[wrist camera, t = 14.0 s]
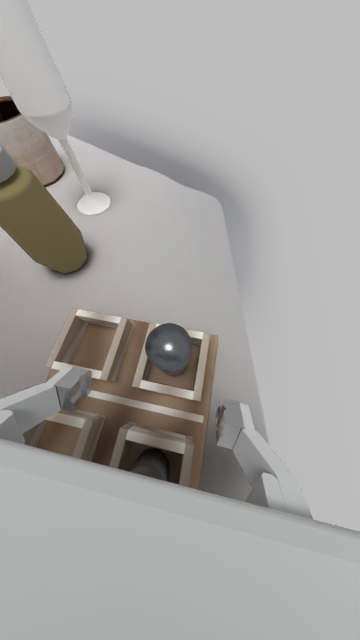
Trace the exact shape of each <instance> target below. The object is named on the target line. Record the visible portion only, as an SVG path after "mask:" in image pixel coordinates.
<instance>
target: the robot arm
mask: <svg viewBox="0 0 360 640" xmlns="http://www.w3.org/2000/svg"><path fill="white" fill-rule="evenodd" d="M91 376H92V371H90V370H86V369H82V368H78V367H73V366H69V365H68V366H65V367H64V368H63V369H61V370H60V371H59V372H58V373H57V374H56V375H54V376H53V377H52V378H51V379H50V380H48V381H47V382H46V383H45V384H44V383H41V384H39V385H36V386H34V387H31V388H28V389H26V390H23V391H20V392H18V393H15V394H13V395H10V396H7V397H5V398H2V399H0V640H360V532H359V531H355V530H351V529H347V528H343V527H340V526H336V525H332V524H328V523H324V522H320V521H317V520H313V518H312V515H311V513H310V510H309V508H308V505H307V502H306V500H305V497H304V495H303V492H302V489H301V487H300V485H299V482H298V480H297V478H296V477H295V476H294V475H293V474H292V472H291V471H290V470H289V469H288V468H287V466H286V465H285V464H284V463H283V462H282V460H281V459H280V458H279V457H278V455H277V454H276V453H275V452H274V451H273V449H272V448H271V447H270V446H269V445H268V443H267V442H266V441H265V440H264V438H263V437H262V436H261V435H260V434H259V432H256V431H255V428H254V424H253V420H252V417H251V413H250V409H249V405H248V404H246V403H241V402H237V401H232V400H227V399H222V398H221V400H220V402H219V405H220V407H219V408H218V409H217V413H216V426H217V428H218V429H217V432H216V438H217V446H221V447H224V448H228V449H232V451H233V453H234V455H235V456H236V458H237V460H238V462H239V464H240V466H241V468H242V469H243V471H244V473H245V475H246V477H247V479H248V481H249V482H250V484H251V486H252V488H253V490H252V491H251V493H250V494H249V496H248V498H247V499H246V502H243V501H240V500H236V499H232V498H228V497H224V496H220V495H216V494H213V493H209V492H205V491H201V490H197V489H193V488H190V487H186V486H182V485H178V484H174V483H171V482H167V481H163V480H159V479H155V478H151V477H148V476H144V475H140V474H136V473H132V472H128V471H125V470H121V469H117V468H113V467H109V466H105V465H102V464H98V463H94V462H90V461H86V460H82V459H78V458H75V457H71V456H67V455H63V454H59V453H55V452H52V451H48V450H44V449H40V448H36V447H32V446H29V445H25V440H24V437H23V435H22V434H23V433H24V432H26V431H27V430H29V429H31V428H32V427H34V426H36V425H37V424H39V423H40V422H42V421H44V420H45V419H47V418H49V417H50V416H52V415H53V414H55V413H57V412H58V411H60V410H61V409H63V410H68V411H73V412H75V411H76V410H77V408H78V407H79V406H80V405H81V403H82V401H83V398H85V397H87V396H88V395H89V393H90V392H91V390H92V388H93V380H92V379H91V378H90V377H91Z"/></svg>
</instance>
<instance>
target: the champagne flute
mask: <svg viewBox="0 0 360 640" xmlns="http://www.w3.org/2000/svg"><path fill="white" fill-rule="evenodd" d="M0 76H1V78H2V80H3V82H4V84H5V85H6V87H7V89H8V91H9V93H10V95H11V97H12V99H13V101H14V103H15V104H16V106H17V108H18V110H19V111H20V113H21V114H22V115H23V116H24V117H25V118H26V119H27V120H28V121H29V122H30V123H31V124H33V125H34V126H35V127H36V128H38V129H40V130H41V131H43V132H45V133H46V134H48V135H49V136H51V137H53V138H56V139H58V140H59V142H60V144H61V146H62V148H63V150H64V152H65V154H66V156H67V158H68V160H69V162H70V164H71V166H72V168H73V170H74V172H75V174H76V176H77V177H78V179H79V181H80V183H81V185H82V187H83V189H84V191H85V193H86V194H85V195H84V196H83V197H82V198H81V199H80V200H79V201H78V204H77V208H78V210H79V211H80V212H81V213H83V214H86V215H94V214H98V213H101V212H103V211H104V210H106V209H107V208H108V207H109V205H110V198H109V196H108V195H106V194H104V193H100V192H92V191H91V189H90V187H89V185H88V183H87V181H86V179H85V177H84V175H83V172H82V170H81V168H80V166H79V164H78V162H77V160H76V158H75V155H74V153H73V151H72V149H71V147H70V145H69V143H68V141H67V138H66V136H67V135H68V133H69V129H70V124H71V121H72V101H71V97H70V95H69V93H68V91H67V89H66V86H65V84H64V82H63V80H62V78H61V75H60V73H59V71H58V69H57V67H56V64H55V62H54V60H53V58H52V56H51V53H50V51H49V49H48V47H47V45H46V43H45V40H44V38H43V36H42V34H41V31H40V29H39V27H38V25H37V23H36V20H35V18H34V16H33V14H32V12H31V9H30V7H29V5H28V3H27V1H26V0H0Z"/></svg>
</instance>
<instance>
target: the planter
mask: <svg viewBox="0 0 360 640" xmlns="http://www.w3.org/2000/svg"><path fill="white" fill-rule="evenodd" d="M0 144H1V145H2V146H3V148H4V149H5V150H6V152H7V153H8V154H9V156H10V157H11V158H12V160H13V161H14V162H15V165H20V166H22V167H25V168H27V169H29V170H30V171H32V172H33V173H34V175H35V176H36V177H37V178H38V179H39V181H40V182H41V183H42V184H43V186H47V185H49V184H51V183H53V182H55V181H56V180H57V179H58V178H59V177H60V176H61V174H62V172H63V169H64V165H63V163H62V161H61V159H60V157H59V155H58V153H57V151H56V150H55V148H54V146H53V144H52V142H51V141H50V139H49V137H48V135H47V134H46V133H45V132H43V131H41V130H40V129H38V128H36V127H35V126H34V125H33V124H31V123H30V122H29V121H28V120H27V119H26V118H25V117H24V116H23V115H22V114H21V113H20V111H19V110H18V108H17V106H16V104H15V103H14V101H13V99H12V97H11V96H4V97H0Z"/></svg>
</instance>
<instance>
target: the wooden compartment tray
mask: <svg viewBox="0 0 360 640" xmlns="http://www.w3.org/2000/svg"><path fill="white" fill-rule="evenodd" d="M159 325H160V324H155V323H146V322H141V321H136V320H130V319H127V318H122V317H117V316H112V315H106V314H101V313H95V312H90V311H85V310H79V309H74V308H72V310H71V312H70V314H69V316H68V318H67V320H66V322H65V324H64V327H63V329H62V331H61V333H60V335H59V337H58V339H57V341H56V343H55V346H54V348H53V350H52V352H51V354H50V356H49V358H48V360H47V362H46V365H45V367H47V368H52V369H51V371H50V374H49V376H48V378H47V380H46V382H47V381H48V380H50V379H51V378H52V377H53V376H54V375H56V374H57V373H58V372H59V371H60V370H61V369H63V368H64V367H65V366H68V365H69V366H73V367H78V368H82V369H86V370H90V371H92V376H91V377H90V378H91V379H92V380H93V388H92V390H91V392H90V393H89V395H88V396H87V397H85V398H83V401H82V403H81V405H80V406H79V407H78V408H77V410H76V411H75V412H73V411H68V410H63V409H61V410H60V411H58V412H57V413H55V414H53V415H52V416H50V417H49V418H47V419H45V420H44V421H42V422H40V423H39V424H37V425H36V426H34V427H32V428H31V429H29V430H27V431H26V432H24V433H23V434H22V435H23V437H24V440H25V445H29V446H32V447H36V448H40V449H44V450H48V451H52V452H55V453H59V454H63V455H67V456H71V457H75V458H78V459H82V460H86V461H90V462H94V463H98V464H102V465H105V466H109V467H113V468H117V469H121V470H125V471H128V472H132V473H136V474H140V475H144V476H148V477H151V478H155V479H159V480H163V481H167V482H171V483H174V484H178V485H182V486H186V487H190V488H193V489H197V490H199V486H200V478H201V470H202V462H203V454H204V446H205V438H206V430H207V422H208V414H209V406H210V398H211V390H212V382H213V374H214V366H215V358H216V350H217V342H218V336H216V335H211V334H208V333H203V332H198V331H192V330H187V329H185V330H186V331H187V333H188V334H189V336H190V338H191V342H192V350H191V354H190V359H189V363H188V367H187V369H186V370H185V372H184V373H182V374H181V375H178V376H170V375H167V374H166V373H164V372H163V371H162V370H160V369H159V368H157V367H156V366H155V365H153V364H152V363H151V362H150V360H149V359H148V357H147V355H146V351H145V343H146V339H147V337H148V335H149V334H150V332H151V331H152V330H153V329H154V328H156V327H157V326H159ZM46 382H45V383H46Z"/></svg>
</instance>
